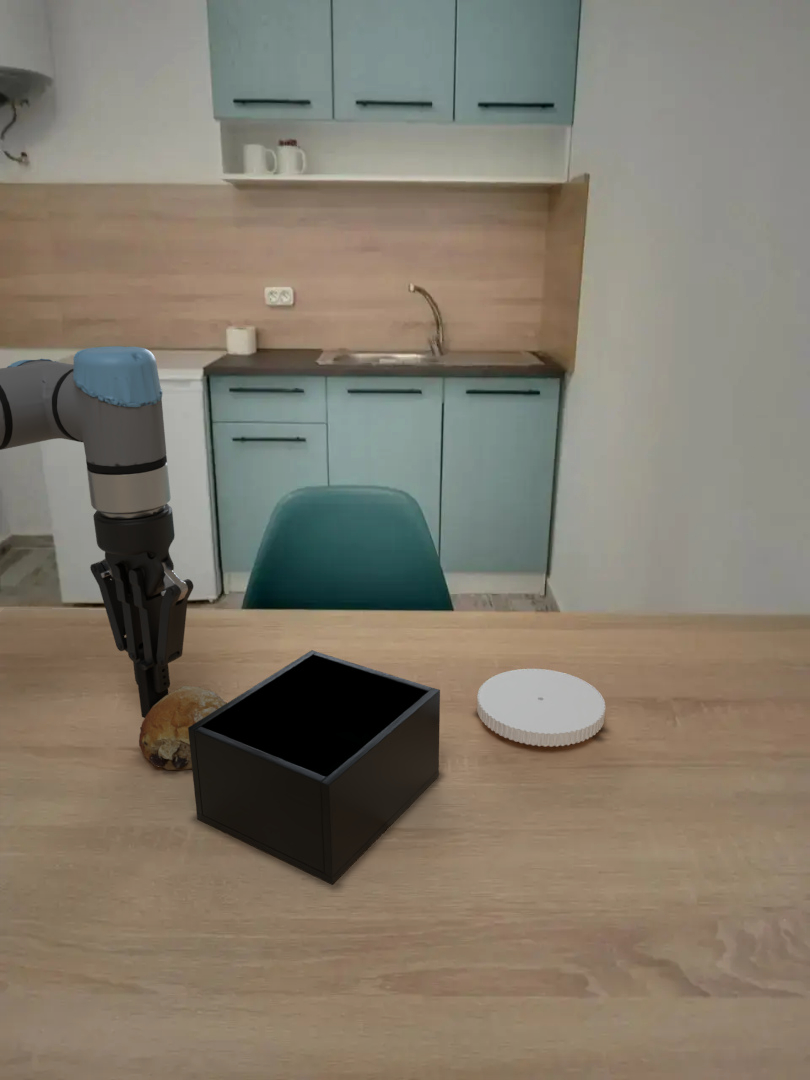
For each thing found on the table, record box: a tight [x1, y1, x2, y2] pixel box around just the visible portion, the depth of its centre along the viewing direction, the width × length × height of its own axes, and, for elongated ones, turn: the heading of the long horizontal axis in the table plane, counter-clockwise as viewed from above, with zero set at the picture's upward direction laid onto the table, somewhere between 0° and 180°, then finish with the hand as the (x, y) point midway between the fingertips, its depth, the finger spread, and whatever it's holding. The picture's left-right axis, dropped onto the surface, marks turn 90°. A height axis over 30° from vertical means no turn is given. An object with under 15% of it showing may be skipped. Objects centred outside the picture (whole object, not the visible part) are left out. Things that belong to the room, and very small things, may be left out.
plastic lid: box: [476, 667, 606, 748], centre depth 92 cm, size 14×14×2 cm
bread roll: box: [138, 685, 228, 771], centre depth 87 cm, size 10×10×8 cm
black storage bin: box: [188, 649, 441, 885], centre depth 78 cm, size 16×18×10 cm
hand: (156, 713), depth 90 cm, fingers closed
